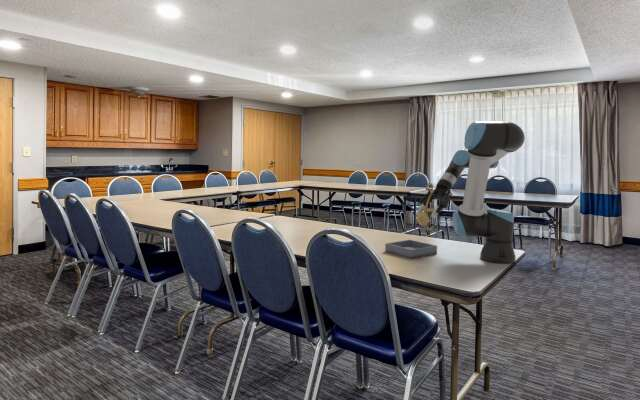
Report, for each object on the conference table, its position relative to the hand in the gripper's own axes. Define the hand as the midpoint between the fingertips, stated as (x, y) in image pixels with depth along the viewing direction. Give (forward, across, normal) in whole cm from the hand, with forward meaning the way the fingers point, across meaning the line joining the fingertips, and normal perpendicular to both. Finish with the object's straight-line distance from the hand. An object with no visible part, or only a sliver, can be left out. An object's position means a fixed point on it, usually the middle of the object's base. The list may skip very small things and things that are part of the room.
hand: (424, 216), depth 216 cm
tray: (+20, -2, -3) cm, 20 cm away
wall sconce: (+3, 0, -8) cm, 9 cm away
